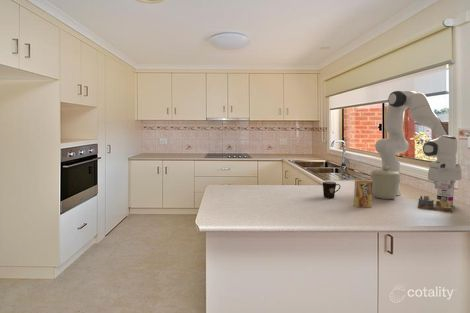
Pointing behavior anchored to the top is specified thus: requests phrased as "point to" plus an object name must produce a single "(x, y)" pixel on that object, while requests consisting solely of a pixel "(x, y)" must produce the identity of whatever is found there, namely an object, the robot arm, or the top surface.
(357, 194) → the candy box
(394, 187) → the canister
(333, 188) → the coffee mug
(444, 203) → the brass gear
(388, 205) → the top surface
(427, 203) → the gear
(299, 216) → the top surface
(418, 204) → the gear board
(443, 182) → the supplement can
